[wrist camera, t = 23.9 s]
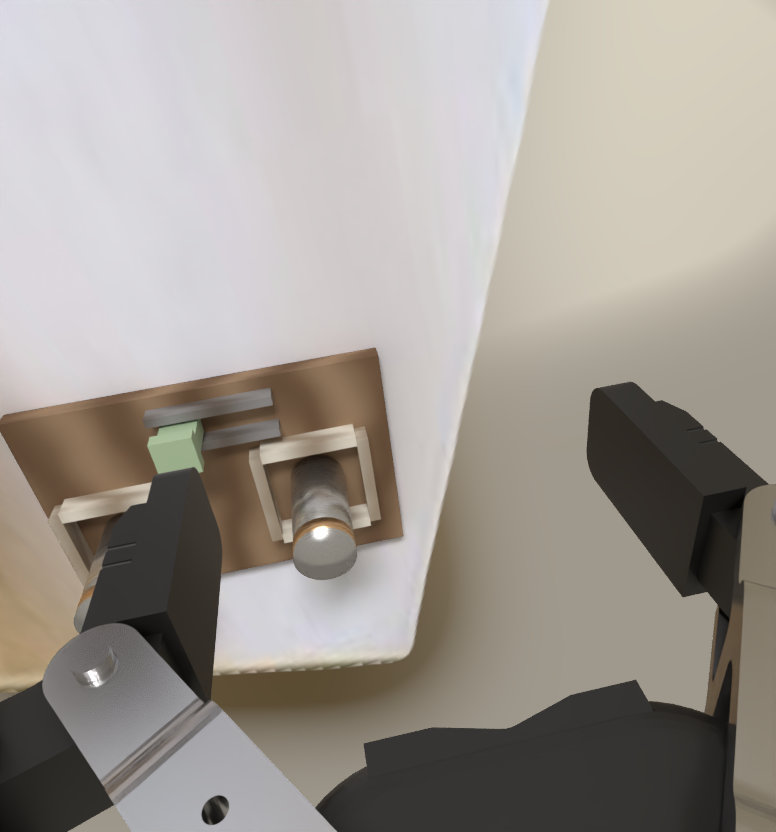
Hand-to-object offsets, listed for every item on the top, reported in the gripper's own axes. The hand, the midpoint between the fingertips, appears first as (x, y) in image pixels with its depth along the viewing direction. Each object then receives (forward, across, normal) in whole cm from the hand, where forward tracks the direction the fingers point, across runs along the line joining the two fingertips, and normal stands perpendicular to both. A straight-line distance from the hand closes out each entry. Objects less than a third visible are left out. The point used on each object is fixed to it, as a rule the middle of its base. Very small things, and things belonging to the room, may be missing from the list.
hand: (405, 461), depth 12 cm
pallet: (+36, -12, -25) cm, 46 cm away
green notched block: (+34, -14, -18) cm, 41 cm away
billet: (+35, -4, -26) cm, 43 cm away
